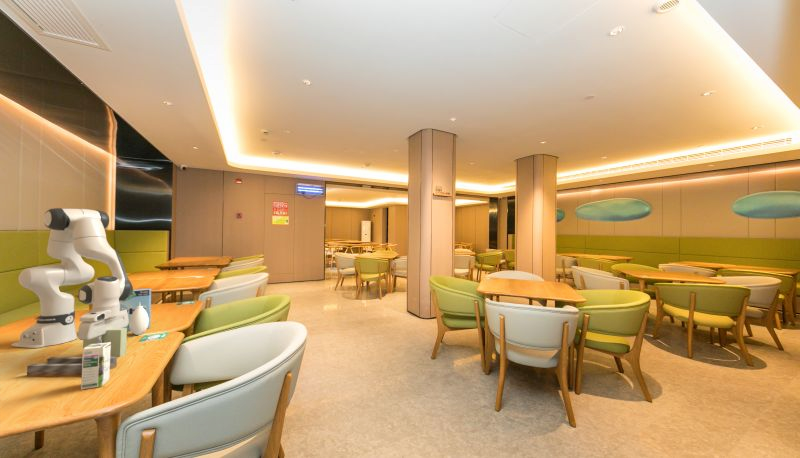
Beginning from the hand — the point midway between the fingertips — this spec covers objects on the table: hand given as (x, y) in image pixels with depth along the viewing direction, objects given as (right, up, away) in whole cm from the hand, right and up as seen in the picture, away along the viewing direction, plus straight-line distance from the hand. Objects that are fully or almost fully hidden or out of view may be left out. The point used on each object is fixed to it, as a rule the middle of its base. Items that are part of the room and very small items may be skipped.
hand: (105, 343), depth 131 cm
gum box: (-22, -6, +34) cm, 41 cm away
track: (+3, -5, -15) cm, 16 cm away
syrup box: (+22, -6, -25) cm, 34 cm away
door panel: (0, -6, 0) cm, 6 cm away
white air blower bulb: (-10, -6, +27) cm, 30 cm away
